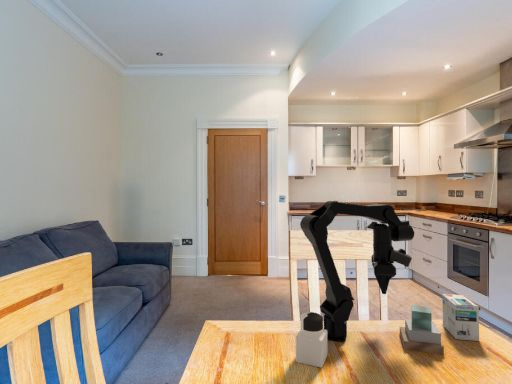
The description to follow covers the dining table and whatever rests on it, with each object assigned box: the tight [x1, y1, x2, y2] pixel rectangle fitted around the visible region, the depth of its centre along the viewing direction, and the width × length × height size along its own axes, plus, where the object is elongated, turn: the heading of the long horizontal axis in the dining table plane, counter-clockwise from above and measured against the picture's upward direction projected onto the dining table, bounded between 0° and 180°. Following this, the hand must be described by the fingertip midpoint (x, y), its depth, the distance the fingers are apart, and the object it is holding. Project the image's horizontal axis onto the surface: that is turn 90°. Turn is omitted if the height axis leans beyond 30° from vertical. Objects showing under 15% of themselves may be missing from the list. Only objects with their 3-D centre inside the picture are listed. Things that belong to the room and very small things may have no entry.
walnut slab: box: [399, 326, 445, 356], centre depth 92 cm, size 10×10×3 cm
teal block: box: [411, 304, 433, 331], centre depth 92 cm, size 5×5×5 cm
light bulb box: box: [441, 293, 480, 342], centre depth 98 cm, size 11×7×11 cm, turn 168°
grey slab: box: [404, 318, 442, 344], centre depth 91 cm, size 8×8×3 cm
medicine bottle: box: [295, 311, 329, 368], centre depth 84 cm, size 7×7×12 cm
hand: (382, 289), depth 102 cm, fingers open, 9 cm apart
